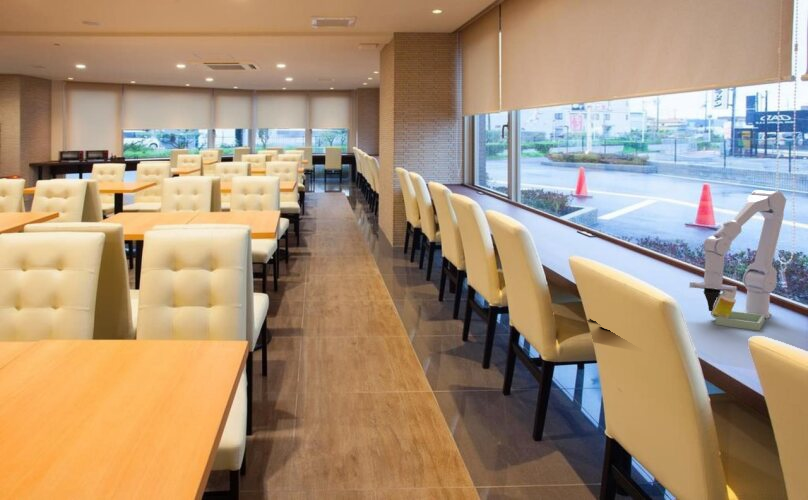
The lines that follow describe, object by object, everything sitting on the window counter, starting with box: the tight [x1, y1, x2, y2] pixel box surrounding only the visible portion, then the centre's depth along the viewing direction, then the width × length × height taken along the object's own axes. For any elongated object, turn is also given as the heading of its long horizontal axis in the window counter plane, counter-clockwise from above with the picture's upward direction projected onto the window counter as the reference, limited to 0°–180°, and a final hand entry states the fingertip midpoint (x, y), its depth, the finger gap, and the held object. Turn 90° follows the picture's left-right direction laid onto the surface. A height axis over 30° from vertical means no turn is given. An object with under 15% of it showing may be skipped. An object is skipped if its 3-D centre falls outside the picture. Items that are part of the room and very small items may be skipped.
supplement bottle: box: [710, 289, 737, 320], centre depth 222 cm, size 6×6×10 cm
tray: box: [714, 310, 766, 332], centre depth 220 cm, size 13×13×2 cm
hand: (710, 310), depth 225 cm, fingers closed
